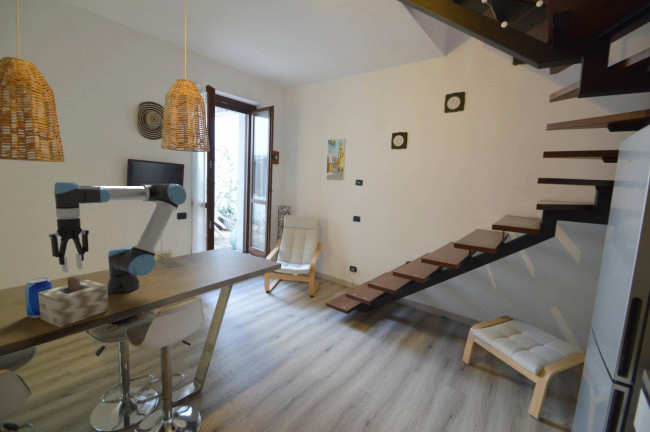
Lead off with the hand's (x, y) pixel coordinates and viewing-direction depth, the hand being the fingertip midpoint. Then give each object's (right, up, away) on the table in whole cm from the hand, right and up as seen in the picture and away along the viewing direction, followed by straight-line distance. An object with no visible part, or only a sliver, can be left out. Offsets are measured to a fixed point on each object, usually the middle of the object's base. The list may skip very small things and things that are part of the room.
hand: (72, 269), depth 125 cm
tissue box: (-1, -21, +2) cm, 21 cm away
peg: (0, -14, +2) cm, 14 cm away
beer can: (-15, -20, +1) cm, 26 cm away
